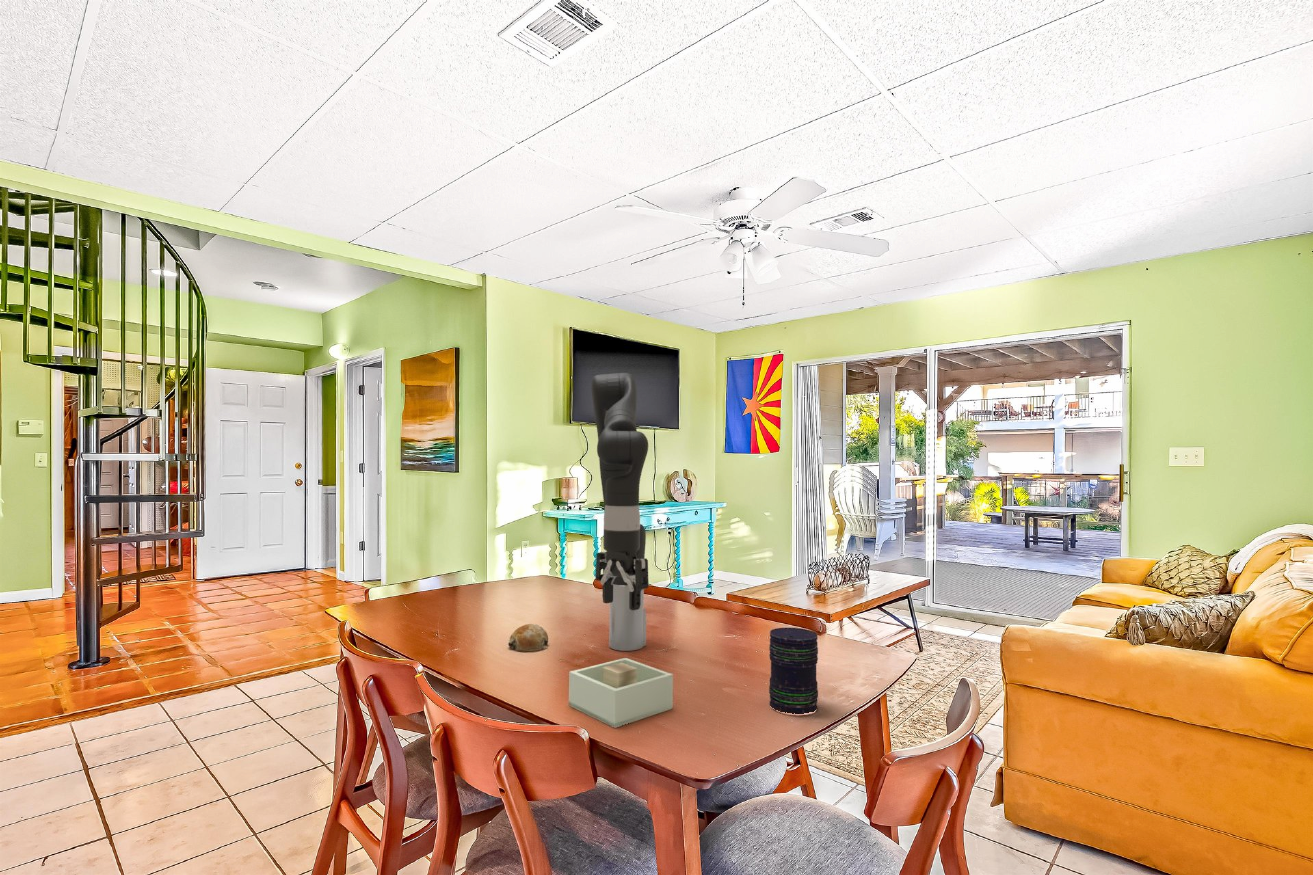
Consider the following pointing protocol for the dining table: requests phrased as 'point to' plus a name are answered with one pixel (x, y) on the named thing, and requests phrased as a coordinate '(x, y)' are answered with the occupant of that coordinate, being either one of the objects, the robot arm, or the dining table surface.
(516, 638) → the bread roll
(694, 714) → the dining table surface
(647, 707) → the bin
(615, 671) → the block
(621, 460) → the robot arm
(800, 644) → the storage jar
